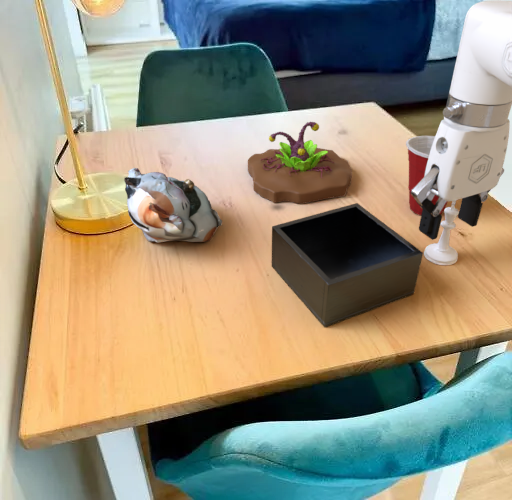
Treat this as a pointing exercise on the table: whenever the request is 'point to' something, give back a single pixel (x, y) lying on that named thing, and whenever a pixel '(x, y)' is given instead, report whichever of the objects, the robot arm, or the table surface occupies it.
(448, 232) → the chess piece
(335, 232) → the dark grey open box
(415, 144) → the plastic cup
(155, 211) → the lucky cat figurine
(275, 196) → the plant
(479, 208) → the robot arm
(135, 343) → the table surface
